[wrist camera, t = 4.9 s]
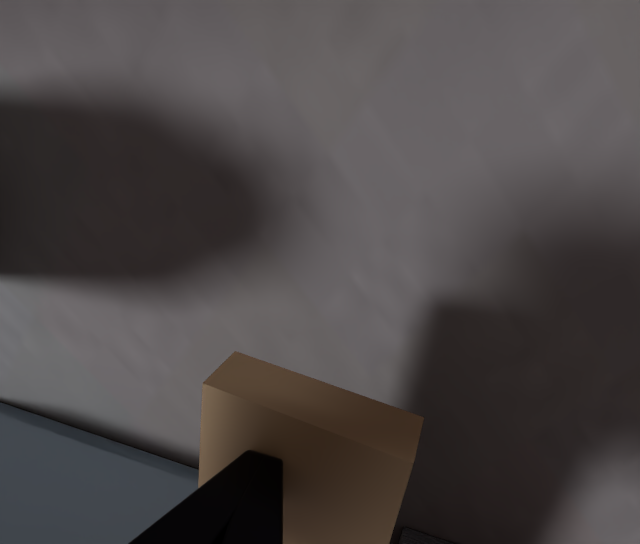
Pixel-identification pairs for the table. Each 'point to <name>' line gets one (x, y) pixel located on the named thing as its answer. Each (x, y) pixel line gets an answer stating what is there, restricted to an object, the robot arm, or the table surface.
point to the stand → (419, 538)
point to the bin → (80, 484)
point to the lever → (312, 448)
